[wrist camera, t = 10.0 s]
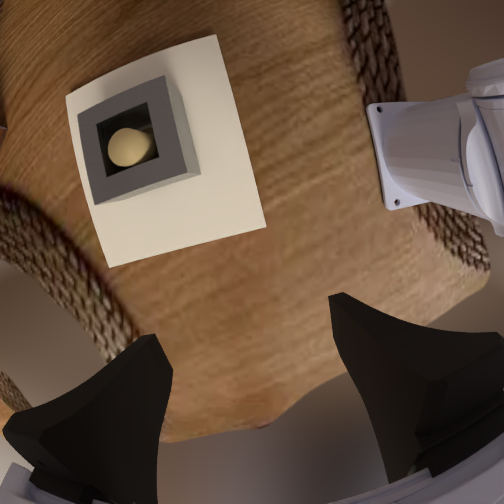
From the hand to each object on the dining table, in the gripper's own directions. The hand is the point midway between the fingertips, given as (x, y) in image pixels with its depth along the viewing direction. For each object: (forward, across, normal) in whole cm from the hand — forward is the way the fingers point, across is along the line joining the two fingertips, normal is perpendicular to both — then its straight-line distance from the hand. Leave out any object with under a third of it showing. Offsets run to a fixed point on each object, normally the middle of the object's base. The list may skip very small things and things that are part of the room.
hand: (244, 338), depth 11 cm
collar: (+9, +4, -9) cm, 13 cm away
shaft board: (+10, +4, -9) cm, 14 cm away
